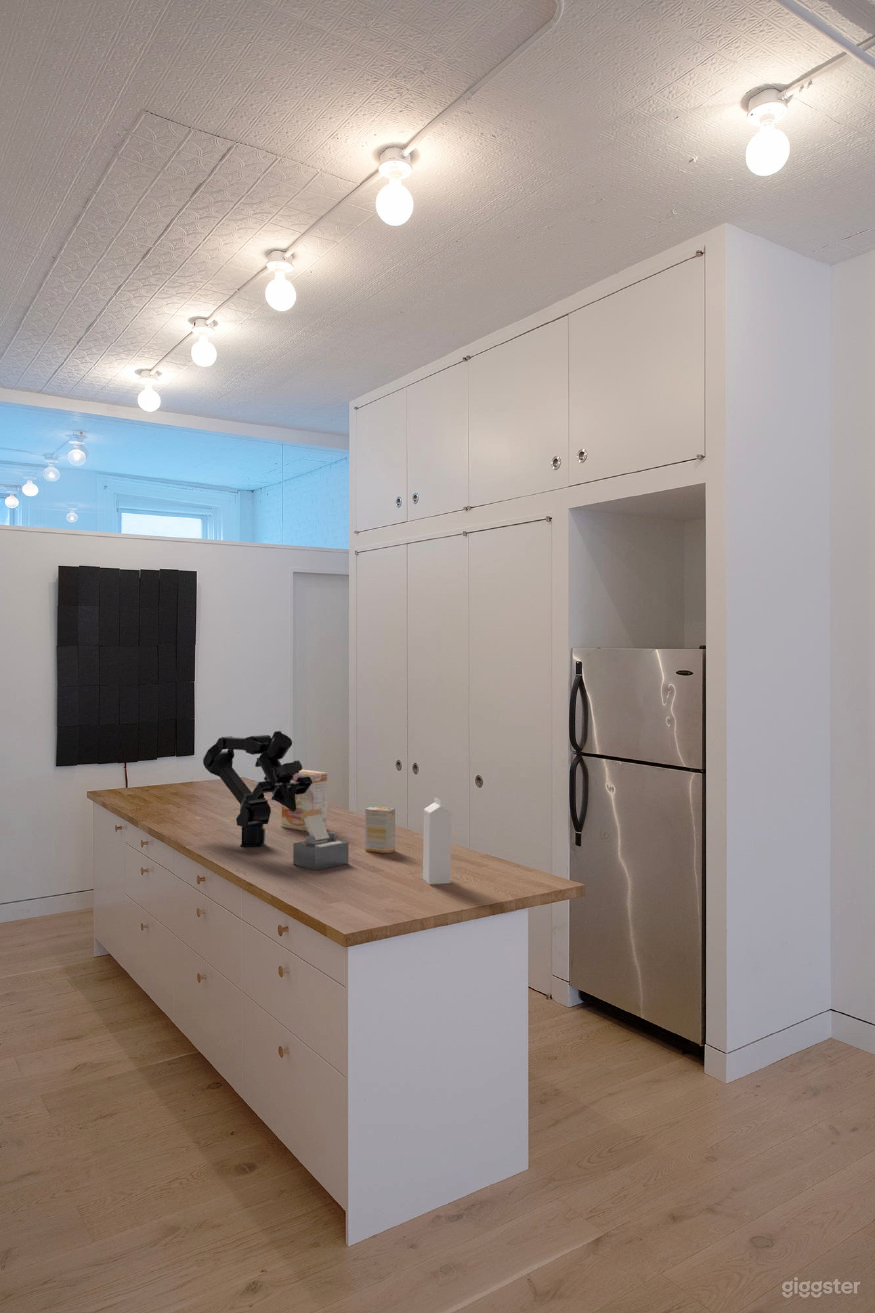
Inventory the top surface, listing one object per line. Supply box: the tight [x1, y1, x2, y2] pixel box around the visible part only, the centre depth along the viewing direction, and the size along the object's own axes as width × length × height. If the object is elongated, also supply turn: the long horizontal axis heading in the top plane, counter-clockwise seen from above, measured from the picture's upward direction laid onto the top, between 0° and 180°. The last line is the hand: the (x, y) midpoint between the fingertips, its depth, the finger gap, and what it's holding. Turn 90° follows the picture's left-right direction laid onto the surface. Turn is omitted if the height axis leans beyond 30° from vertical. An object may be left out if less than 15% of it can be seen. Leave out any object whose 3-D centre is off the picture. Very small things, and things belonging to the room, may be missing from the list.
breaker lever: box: [300, 809, 329, 842], centre depth 254 cm, size 2×6×9 cm
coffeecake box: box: [280, 769, 328, 832], centre depth 302 cm, size 15×7×20 cm, turn 55°
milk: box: [422, 796, 452, 886], centre depth 235 cm, size 6×6×22 cm
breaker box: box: [292, 831, 350, 871], centre depth 252 cm, size 10×12×8 cm
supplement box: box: [364, 806, 396, 854], centre depth 269 cm, size 8×5×13 cm, turn 65°
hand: (294, 810), depth 261 cm, fingers closed
